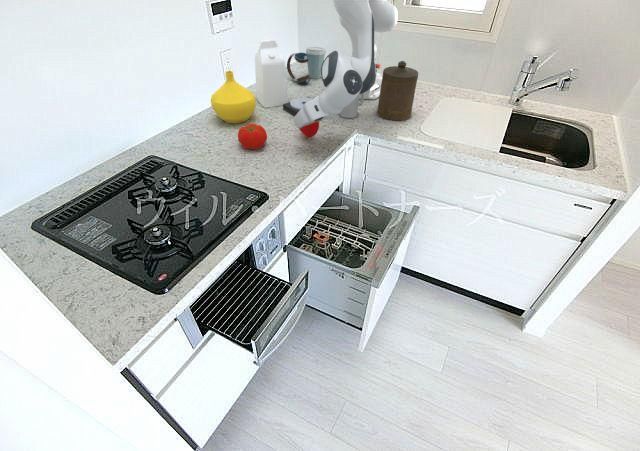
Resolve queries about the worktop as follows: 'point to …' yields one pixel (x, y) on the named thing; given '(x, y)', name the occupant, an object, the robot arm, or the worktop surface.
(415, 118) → the worktop surface
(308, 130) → the heart
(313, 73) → the disposable coffee cup
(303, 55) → the headphones
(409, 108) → the wooden container
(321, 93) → the robot arm
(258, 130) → the tomato
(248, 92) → the vase
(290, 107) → the scale
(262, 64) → the milk
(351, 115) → the mug
